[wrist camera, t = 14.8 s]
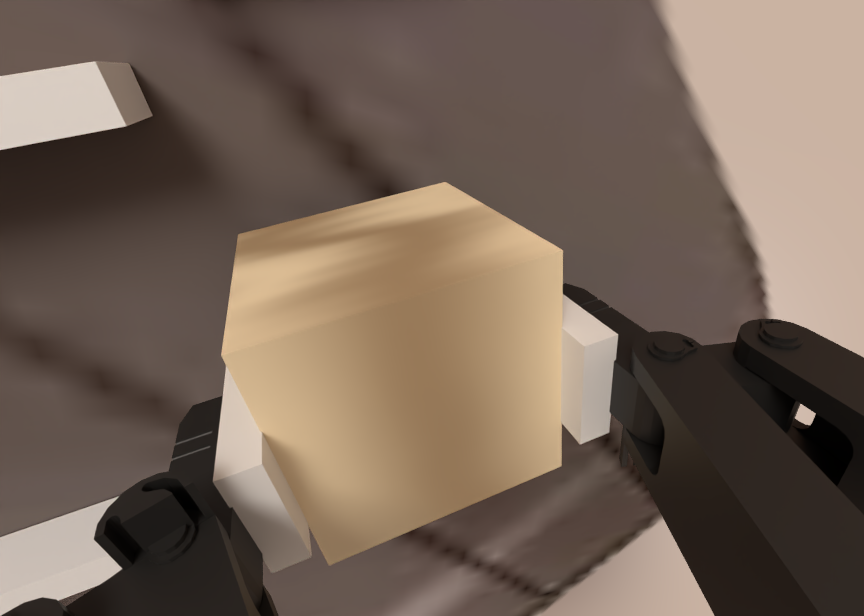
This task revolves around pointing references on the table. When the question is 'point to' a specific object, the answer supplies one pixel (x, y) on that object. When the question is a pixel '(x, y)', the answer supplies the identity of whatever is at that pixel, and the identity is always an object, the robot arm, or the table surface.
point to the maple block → (398, 359)
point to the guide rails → (22, 125)
